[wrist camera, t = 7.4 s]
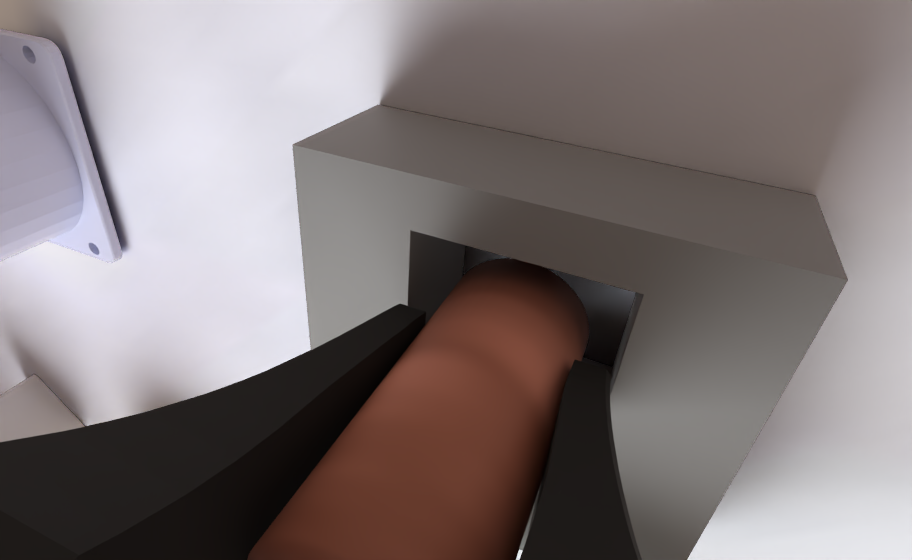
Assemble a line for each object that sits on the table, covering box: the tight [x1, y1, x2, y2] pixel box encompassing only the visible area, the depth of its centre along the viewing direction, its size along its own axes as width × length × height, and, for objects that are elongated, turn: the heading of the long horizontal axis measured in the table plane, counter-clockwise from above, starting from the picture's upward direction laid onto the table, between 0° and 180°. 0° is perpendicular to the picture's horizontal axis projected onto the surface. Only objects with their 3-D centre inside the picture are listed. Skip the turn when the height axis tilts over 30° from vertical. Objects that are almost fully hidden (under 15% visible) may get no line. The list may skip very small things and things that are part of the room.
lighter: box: [0, 375, 85, 442], centre depth 28 cm, size 7×2×8 cm, turn 37°
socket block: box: [293, 105, 848, 560], centre depth 13 cm, size 11×12×7 cm
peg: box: [247, 258, 589, 560], centre depth 9 cm, size 3×3×7 cm
